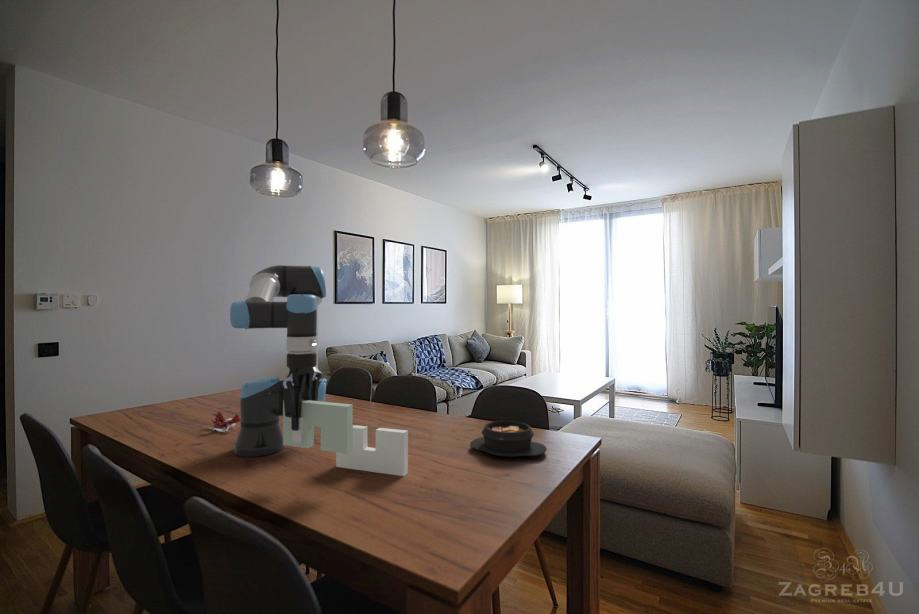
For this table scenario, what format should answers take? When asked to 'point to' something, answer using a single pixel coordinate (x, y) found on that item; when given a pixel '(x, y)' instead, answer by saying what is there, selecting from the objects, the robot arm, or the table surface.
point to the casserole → (508, 440)
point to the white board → (377, 452)
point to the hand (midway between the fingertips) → (301, 439)
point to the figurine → (224, 422)
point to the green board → (323, 426)
